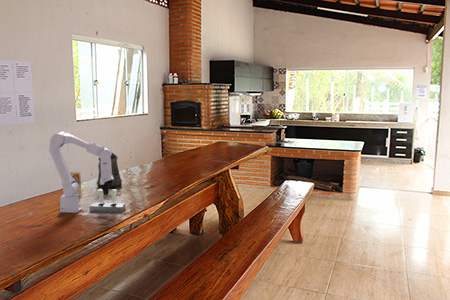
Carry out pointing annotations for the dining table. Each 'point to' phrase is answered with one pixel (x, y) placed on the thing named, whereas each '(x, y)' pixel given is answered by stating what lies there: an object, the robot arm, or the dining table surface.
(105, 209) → the grey block with holes
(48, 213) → the dining table surface
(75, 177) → the candy box
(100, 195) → the notched cream block
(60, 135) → the robot arm
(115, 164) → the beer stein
